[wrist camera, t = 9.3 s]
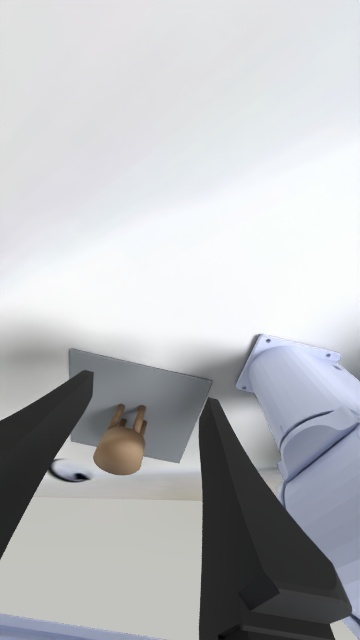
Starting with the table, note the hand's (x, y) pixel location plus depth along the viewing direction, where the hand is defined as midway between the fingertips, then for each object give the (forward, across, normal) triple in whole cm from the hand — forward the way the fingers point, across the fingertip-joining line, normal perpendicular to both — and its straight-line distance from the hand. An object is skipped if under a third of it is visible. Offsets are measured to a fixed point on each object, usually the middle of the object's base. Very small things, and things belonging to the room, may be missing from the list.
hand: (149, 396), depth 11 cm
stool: (+10, +2, +15) cm, 18 cm away
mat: (+10, +2, +15) cm, 18 cm away
